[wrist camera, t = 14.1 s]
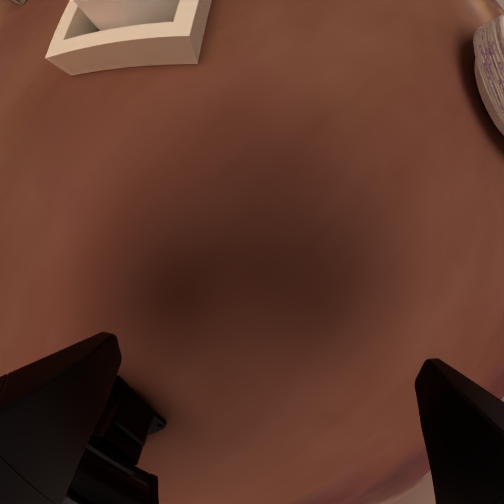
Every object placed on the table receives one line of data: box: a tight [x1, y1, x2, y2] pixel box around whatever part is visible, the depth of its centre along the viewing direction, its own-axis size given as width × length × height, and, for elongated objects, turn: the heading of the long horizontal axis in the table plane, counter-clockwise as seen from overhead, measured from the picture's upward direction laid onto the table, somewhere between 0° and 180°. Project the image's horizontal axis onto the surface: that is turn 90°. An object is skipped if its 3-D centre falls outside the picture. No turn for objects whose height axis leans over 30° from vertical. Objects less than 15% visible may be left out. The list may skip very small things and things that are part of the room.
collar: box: [45, 0, 212, 76], centre depth 13 cm, size 10×10×4 cm
